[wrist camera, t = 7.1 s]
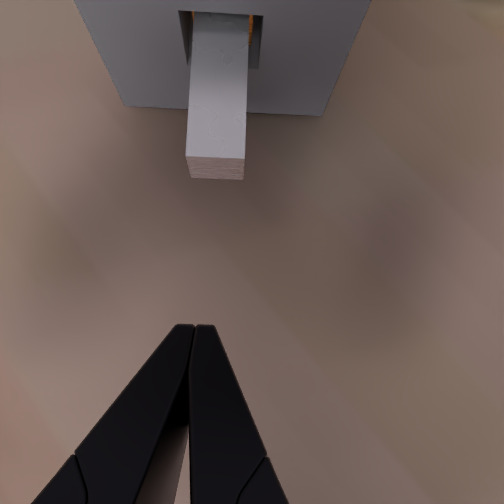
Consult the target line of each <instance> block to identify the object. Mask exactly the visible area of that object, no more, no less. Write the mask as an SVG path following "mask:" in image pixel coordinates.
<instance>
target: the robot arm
mask: <svg viewBox="0 0 504 504" xmlns="http://www.w3.org/2000/svg"><path fill="white" fill-rule="evenodd" d="M188 433H189V461H190V504H289V502H288V500H287V498H286V495H285V493H284V491H283V489H282V487H281V484H280V482H279V480H278V478H277V475H276V473H275V471H274V468H273V466H272V463H271V461H270V458H269V457H267V452H266V449H265V447H264V444H263V442H262V439H261V437H260V435H259V432H258V430H257V427H256V425H255V422H254V420H253V417H252V415H251V413H250V410H249V408H248V405H247V403H246V400H245V398H244V396H243V393H242V391H241V388H240V386H239V383H238V381H237V379H236V376H235V374H234V371H233V369H232V366H231V364H230V361H229V359H228V357H227V354H226V352H225V349H224V347H223V344H222V342H221V340H220V337H219V335H218V332H217V330H216V327H215V326H214V325H204V324H198V325H196V327H195V326H194V325H193V324H177V325H175V326H174V327H173V328H172V330H171V331H170V332H169V333H168V335H167V336H166V337H165V338H164V340H163V341H162V342H161V343H160V345H159V346H158V347H157V349H156V350H155V351H154V352H153V354H152V355H151V356H150V357H149V359H148V360H147V361H146V362H145V364H144V365H143V366H142V367H141V369H140V370H139V371H138V372H137V374H136V375H135V376H134V377H133V379H132V380H131V381H130V382H129V384H128V385H127V386H126V387H125V389H124V390H123V391H122V392H121V394H120V395H119V396H118V397H117V399H116V400H115V401H114V402H113V404H112V405H111V406H110V407H109V409H108V410H107V411H106V412H105V414H104V415H103V416H102V417H101V419H100V420H99V421H98V422H97V424H96V425H95V426H94V427H93V429H92V430H91V431H90V432H89V434H88V435H87V436H86V437H85V439H84V440H83V441H82V442H81V444H80V445H79V446H78V447H77V449H76V450H75V452H74V453H75V455H74V454H72V455H71V456H70V457H69V458H68V459H67V461H66V462H65V463H64V465H63V466H62V467H61V468H60V470H59V471H58V472H57V473H56V475H55V476H54V477H53V478H52V479H51V480H50V482H49V483H48V484H47V485H46V486H45V488H44V489H43V490H42V491H41V492H40V494H39V495H38V496H37V497H36V498H35V499H34V501H33V502H32V503H31V504H174V501H175V496H176V491H177V486H178V482H179V477H180V472H181V467H182V463H183V458H184V453H185V448H186V444H187V439H188Z"/></svg>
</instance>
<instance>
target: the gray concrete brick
mask: <svg viewBox="0 0 504 504" xmlns="http://www.w3.org/2000/svg"><path fill="white" fill-rule="evenodd" d="M74 2H75V4H76V6H77V8H78V10H79V12H80V14H81V16H82V18H83V21H84V23H85V25H86V27H87V29H88V31H89V33H90V35H91V37H92V39H93V41H94V43H95V45H96V47H97V50H98V52H99V54H100V56H101V58H102V60H103V62H104V64H105V66H106V68H107V70H108V72H109V74H110V76H111V79H112V81H113V83H114V85H115V87H116V89H117V91H118V93H119V95H120V97H121V99H122V101H123V103H124V105H125V106H135V107H155V108H174V109H188V107H189V90H190V74H191V58H192V41H193V25H194V23H193V15H192V11H198V12H214V13H230V14H247V15H253V24H252V38H251V46H249V45H248V74H247V106H246V112H253V113H272V114H292V115H311V116H322V114H323V112H324V109H325V107H326V105H327V102H328V100H329V98H330V96H331V93H332V91H333V89H334V86H335V84H336V82H337V79H338V77H339V75H340V72H341V70H342V68H343V65H344V63H345V61H346V58H347V56H348V54H349V51H350V49H351V47H352V44H353V42H354V40H355V37H356V35H357V33H358V30H359V28H360V26H361V23H362V21H363V19H364V16H365V14H366V12H367V9H368V7H369V5H370V2H371V0H74Z"/></svg>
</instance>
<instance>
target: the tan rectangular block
mask: <svg viewBox="0 0 504 504" xmlns="http://www.w3.org/2000/svg"><path fill="white" fill-rule="evenodd" d="M192 15H193V23H194V25H193V41H192V58H191V74H190V90H189V107H188V123H187V140H186V160H187V163H188V167H189V171H190V175H191V178H210V179H233V180H243V175H244V163H245V137H246V106H247V74H248V45H249V46H251V38H252V24H253V15H247V14H230V13H214V12H198V11H192Z"/></svg>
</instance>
